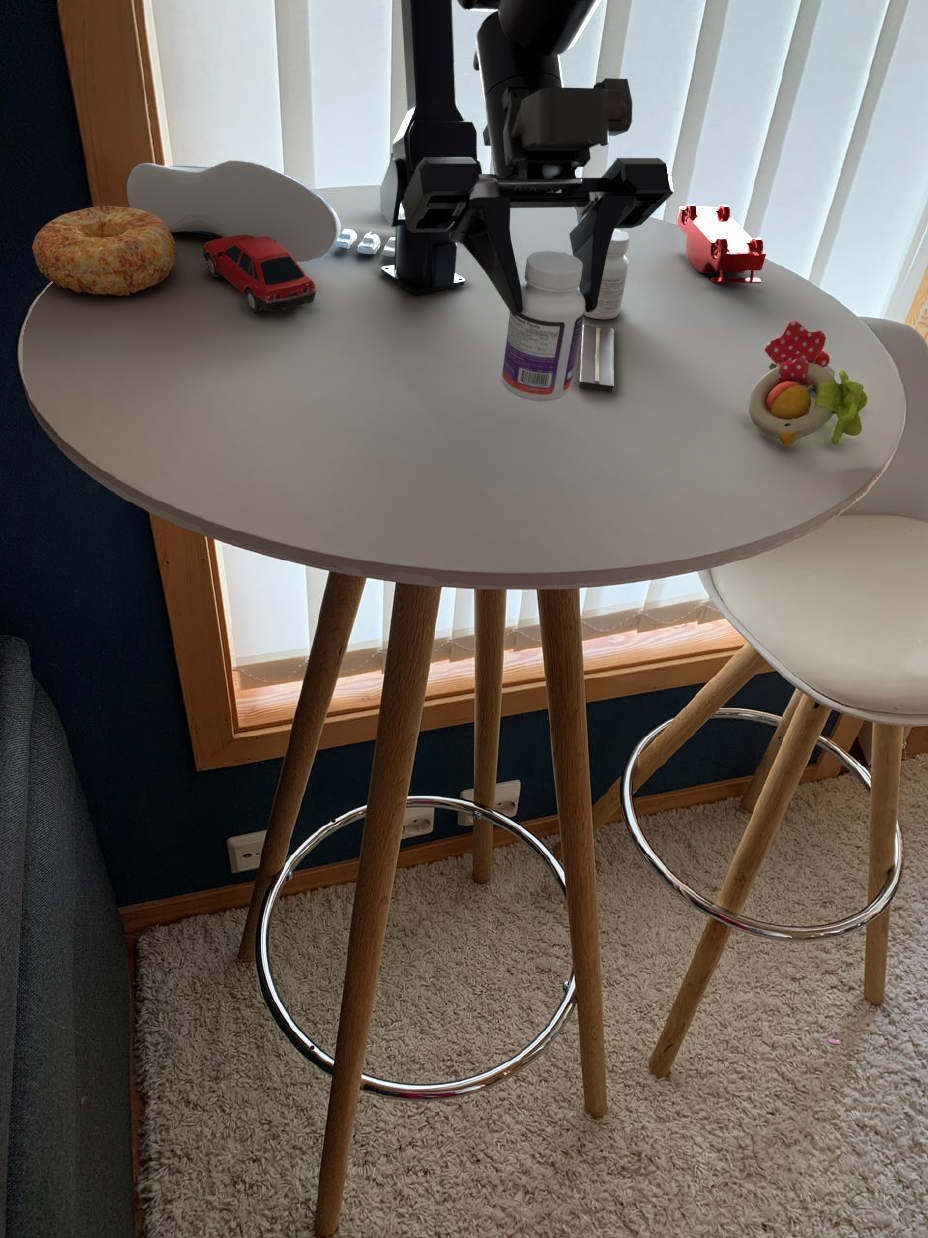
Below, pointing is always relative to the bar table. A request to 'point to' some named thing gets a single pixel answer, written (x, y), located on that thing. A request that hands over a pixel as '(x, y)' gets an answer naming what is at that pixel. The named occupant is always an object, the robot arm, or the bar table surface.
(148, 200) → the shoe
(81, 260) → the bagel
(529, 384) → the pill bottle
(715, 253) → the toy car
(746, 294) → the bar table surface
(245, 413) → the bar table surface
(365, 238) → the toy vehicle set
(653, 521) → the bar table surface
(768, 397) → the bird rattle
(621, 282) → the pill bottle
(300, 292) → the toy car
